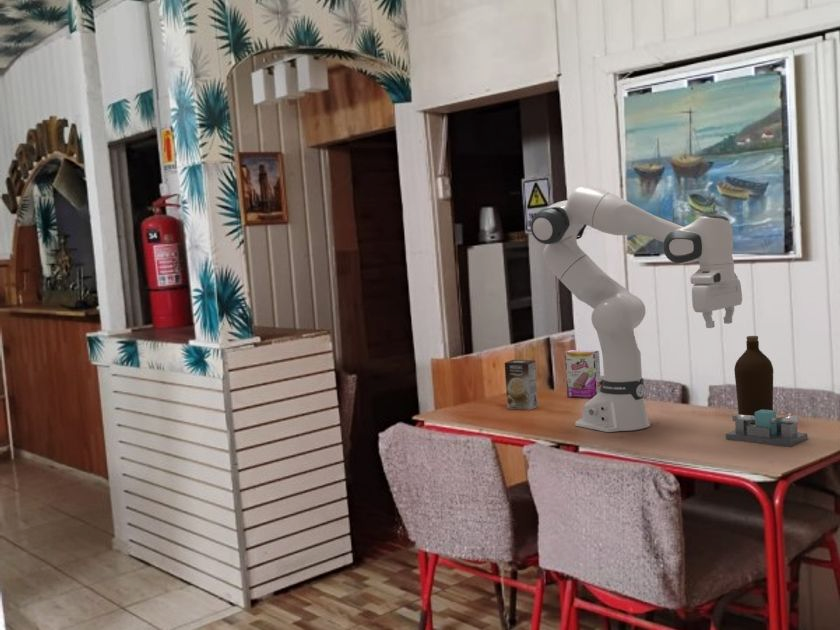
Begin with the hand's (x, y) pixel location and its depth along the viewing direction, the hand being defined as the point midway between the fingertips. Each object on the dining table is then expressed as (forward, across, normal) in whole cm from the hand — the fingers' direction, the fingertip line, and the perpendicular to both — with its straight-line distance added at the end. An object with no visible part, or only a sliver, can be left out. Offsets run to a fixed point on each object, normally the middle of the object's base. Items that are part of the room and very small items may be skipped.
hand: (719, 325), depth 254 cm
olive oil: (+31, -22, -2) cm, 38 cm away
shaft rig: (+31, -4, +10) cm, 33 cm away
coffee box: (+32, -8, -79) cm, 85 cm away
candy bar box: (+32, -32, -71) cm, 84 cm away
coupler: (+29, -4, +10) cm, 31 cm away
